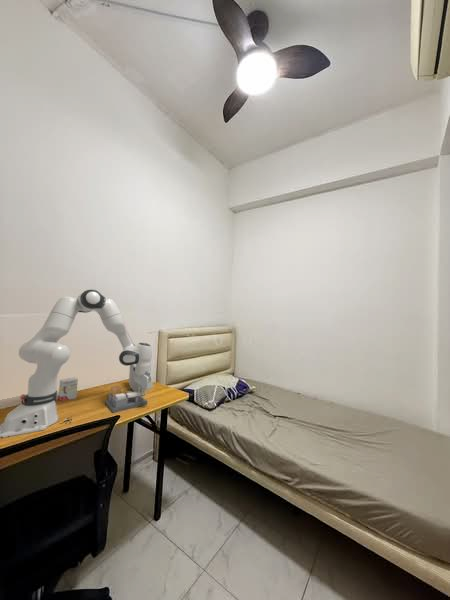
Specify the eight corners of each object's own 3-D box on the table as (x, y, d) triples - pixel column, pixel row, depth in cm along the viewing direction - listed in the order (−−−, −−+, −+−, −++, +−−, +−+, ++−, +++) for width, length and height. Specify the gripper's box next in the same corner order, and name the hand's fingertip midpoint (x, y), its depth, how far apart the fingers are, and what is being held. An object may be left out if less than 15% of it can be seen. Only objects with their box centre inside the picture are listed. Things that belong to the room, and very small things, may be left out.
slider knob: (127, 398, 143) (127, 393, 143) (125, 396, 145) (125, 391, 145) (132, 396, 145) (132, 391, 145) (130, 395, 147) (130, 390, 147)
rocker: (128, 398, 135) (128, 395, 135) (125, 395, 138) (125, 393, 138) (145, 394, 142) (145, 392, 142) (142, 392, 145) (142, 390, 145)
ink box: (60, 401, 139) (61, 381, 139) (58, 399, 142) (59, 379, 142) (76, 398, 145) (78, 378, 145) (74, 395, 148) (75, 376, 149)
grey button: (117, 406, 130) (117, 397, 130) (114, 403, 134) (114, 394, 134) (125, 404, 133) (125, 395, 133) (122, 401, 137) (122, 393, 137)
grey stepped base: (113, 413, 127) (114, 402, 128) (105, 403, 138) (105, 393, 139) (147, 404, 140) (147, 394, 140) (137, 396, 151) (137, 387, 151)
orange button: (112, 398, 136) (113, 389, 136) (110, 395, 139) (111, 387, 139) (120, 396, 139) (121, 387, 139) (118, 394, 142) (118, 385, 142)
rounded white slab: (148, 395, 155) (150, 369, 155) (137, 396, 151) (138, 370, 151) (138, 383, 177) (139, 360, 177) (128, 384, 173) (129, 361, 173)
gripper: (156, 373, 138) (154, 396, 137) (141, 365, 153) (140, 387, 152) (145, 374, 133) (144, 399, 133) (131, 367, 148) (130, 389, 148)
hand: (142, 392), depth 143 cm, fingers closed, pressing on rocker
